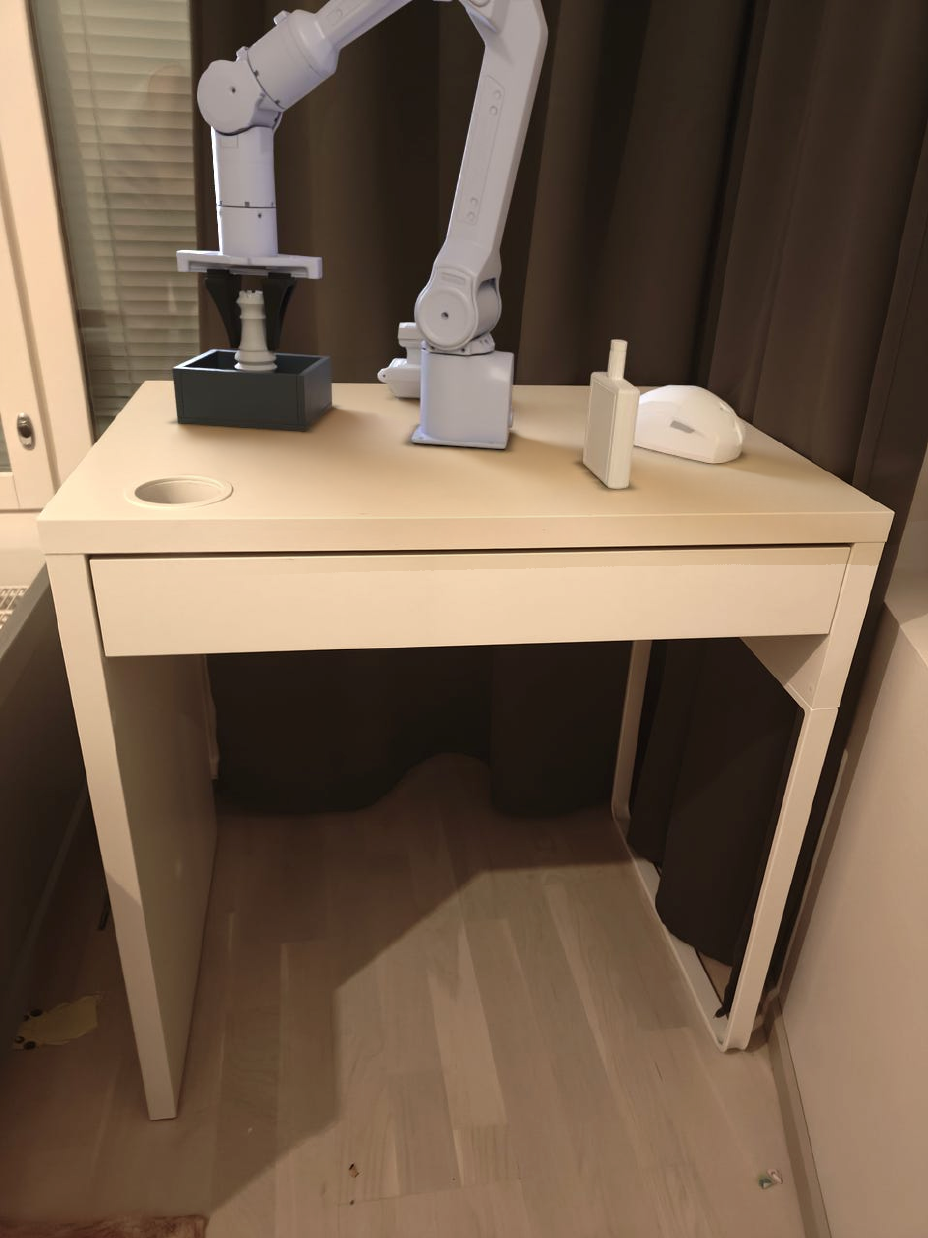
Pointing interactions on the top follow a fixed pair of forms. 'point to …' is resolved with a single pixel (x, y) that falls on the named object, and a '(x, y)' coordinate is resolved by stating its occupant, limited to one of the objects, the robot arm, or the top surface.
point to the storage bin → (253, 391)
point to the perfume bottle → (611, 421)
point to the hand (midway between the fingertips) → (254, 347)
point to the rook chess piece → (253, 335)
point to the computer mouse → (689, 424)
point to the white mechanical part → (406, 365)
